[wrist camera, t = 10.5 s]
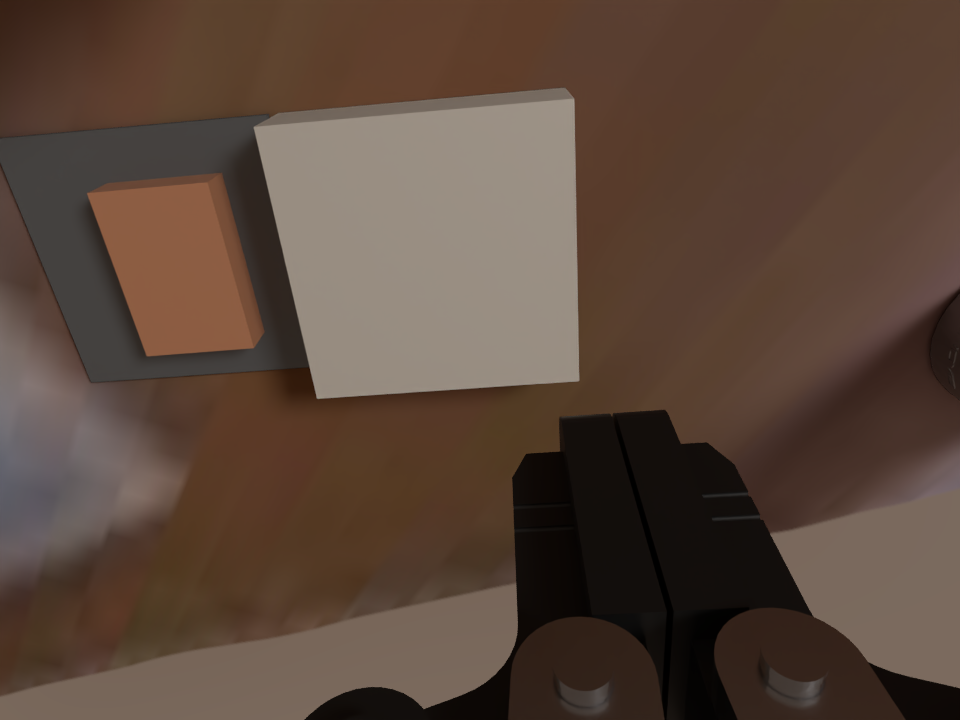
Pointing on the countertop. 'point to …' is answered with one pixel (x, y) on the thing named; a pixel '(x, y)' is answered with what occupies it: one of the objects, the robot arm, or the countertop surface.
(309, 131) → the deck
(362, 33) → the countertop surface
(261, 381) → the countertop surface
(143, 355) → the mat
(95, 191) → the block
